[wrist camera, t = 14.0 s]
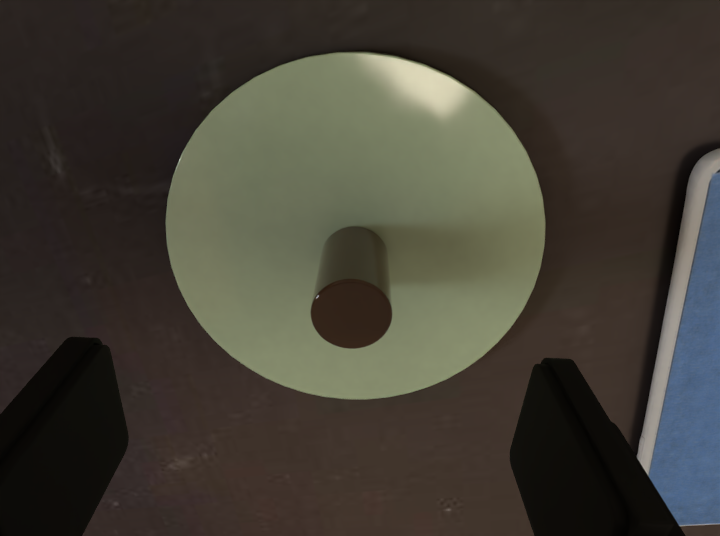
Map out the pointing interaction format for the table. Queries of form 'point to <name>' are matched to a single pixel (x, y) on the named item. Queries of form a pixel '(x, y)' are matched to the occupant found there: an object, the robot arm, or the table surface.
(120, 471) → the table surface
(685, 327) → the tablet
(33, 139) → the table surface
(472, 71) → the table surface
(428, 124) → the lid
